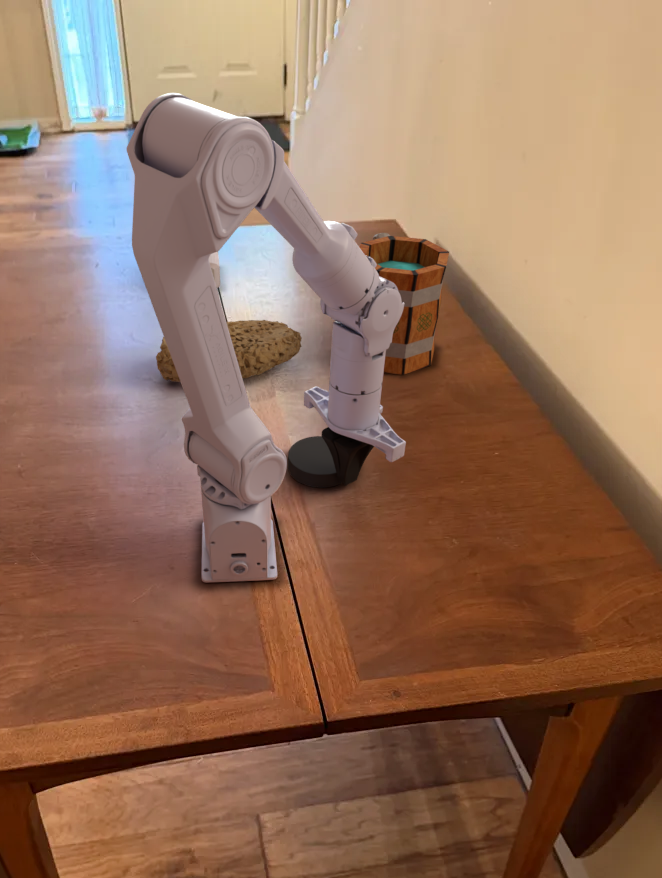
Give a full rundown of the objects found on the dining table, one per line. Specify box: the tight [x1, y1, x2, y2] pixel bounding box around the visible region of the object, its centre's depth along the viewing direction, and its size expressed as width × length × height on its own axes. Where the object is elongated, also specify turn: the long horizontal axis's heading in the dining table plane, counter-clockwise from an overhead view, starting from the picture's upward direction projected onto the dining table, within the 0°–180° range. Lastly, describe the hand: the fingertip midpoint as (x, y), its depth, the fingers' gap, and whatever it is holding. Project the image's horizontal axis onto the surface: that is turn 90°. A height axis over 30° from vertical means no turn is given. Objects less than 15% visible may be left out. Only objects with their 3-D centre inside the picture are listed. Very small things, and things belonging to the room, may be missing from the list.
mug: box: [359, 232, 450, 376], centre depth 115 cm, size 20×14×15 cm
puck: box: [287, 435, 342, 489], centre depth 96 cm, size 8×8×2 cm
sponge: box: [155, 319, 303, 383], centre depth 111 cm, size 13×8×20 cm
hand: (347, 480), depth 93 cm, fingers closed
